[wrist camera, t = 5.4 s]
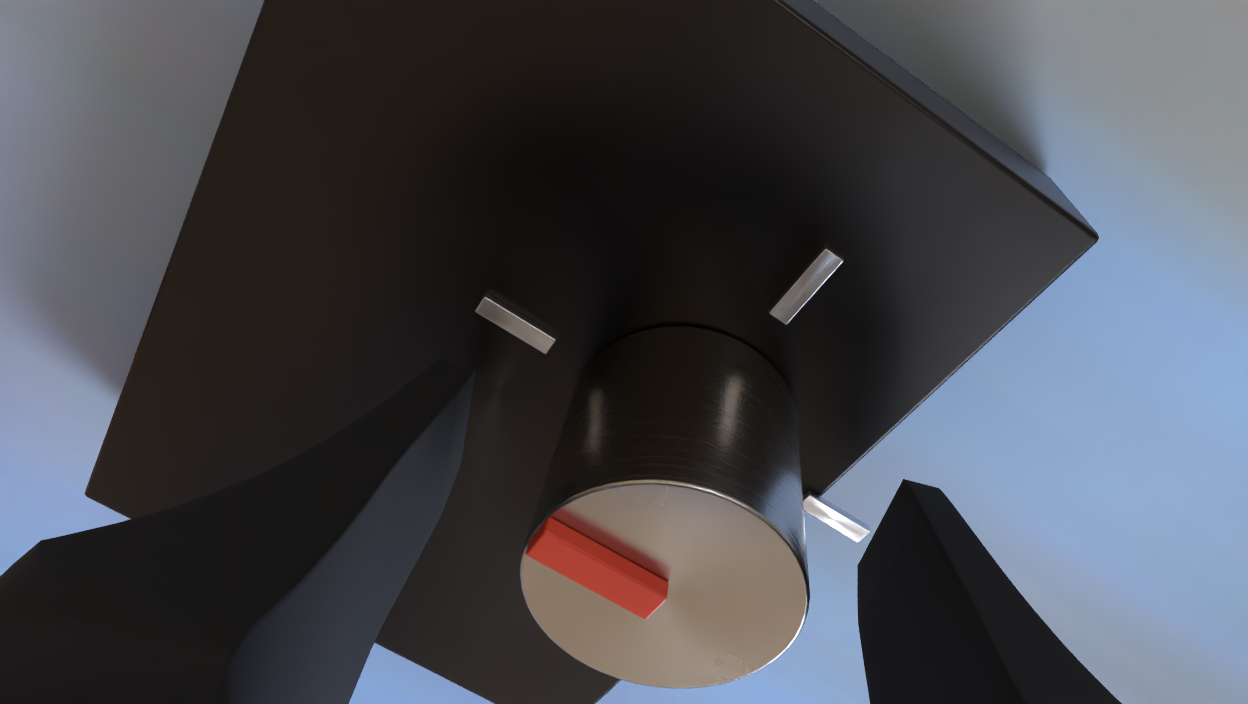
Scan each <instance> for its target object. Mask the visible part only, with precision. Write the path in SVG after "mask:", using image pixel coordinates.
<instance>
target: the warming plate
mask: <svg viewBox="0 0 1248 704" xmlns="http://www.w3.org/2000/svg"><path fill="white" fill-rule="evenodd" d="M1098 239H1099V236H1098V234H1097V232H1096V231H1095V230H1094V229H1093V228H1092V227H1091V225H1090V224H1089V223H1088V222H1087V221H1086V220H1085V218H1084V217H1083V216H1082V215H1081V214H1080V212H1079V211H1078V210H1077V209H1076V208H1075V207H1074V205H1073V204H1072V203H1071V202H1070V201H1069V200H1068V198H1067V197H1066V196H1065V195H1064V194H1063V192H1062V191H1061V190H1060V189H1059V188H1058V187H1057V185H1056V184H1055V183H1054V182H1053V181H1052V180H1051V178H1049V177H1048V176H1047V175H1045V174H1044V173H1043V172H1041V171H1040V170H1039V169H1037V168H1036V167H1035V166H1033V165H1032V164H1031V163H1029V162H1028V161H1027V160H1025V159H1024V158H1023V157H1021V156H1020V155H1019V154H1017V153H1016V152H1015V151H1013V150H1012V149H1011V148H1009V147H1008V146H1007V145H1005V144H1004V143H1002V142H1001V141H1000V140H998V139H997V138H996V137H994V136H993V135H992V134H990V133H989V132H988V131H986V130H985V129H984V128H982V127H981V126H980V125H978V124H977V123H976V122H974V121H973V120H972V119H970V118H969V117H968V116H966V115H965V114H964V113H962V112H961V111H960V110H958V109H957V108H956V107H954V106H953V105H952V104H950V103H949V102H948V101H946V100H945V99H944V98H942V97H941V96H940V95H938V94H937V93H936V92H934V91H933V90H932V89H930V88H929V87H928V86H926V85H925V84H924V83H922V82H921V81H920V80H918V79H917V78H916V77H914V76H913V75H912V74H910V73H909V72H908V71H906V70H905V69H904V68H902V67H901V66H900V65H898V64H897V63H896V62H894V61H893V60H892V59H890V58H889V57H888V56H886V55H885V54H884V53H882V52H881V51H879V50H878V49H877V48H875V47H874V46H873V45H871V44H870V43H869V42H867V41H866V40H865V39H863V38H862V37H861V36H859V35H858V34H857V33H855V32H854V31H853V30H851V29H850V28H849V27H847V26H846V25H845V24H843V23H842V22H841V21H839V20H838V19H837V18H835V17H834V16H833V15H831V14H830V13H829V12H827V11H826V10H825V9H823V8H822V7H821V6H819V5H818V4H817V3H815V2H814V1H813V0H264V3H263V6H262V8H261V11H260V14H259V17H258V19H257V22H256V25H255V28H254V30H253V33H252V36H251V39H250V41H249V44H248V47H247V50H246V52H245V55H244V58H243V61H242V63H241V66H240V69H239V71H238V74H237V77H236V80H235V82H234V85H233V88H232V91H231V93H230V96H229V99H228V102H227V104H226V107H225V110H224V113H223V115H222V118H221V121H220V124H219V126H218V129H217V132H216V135H215V137H214V140H213V143H212V145H211V148H210V151H209V154H208V156H207V159H206V162H205V165H204V167H203V170H202V173H201V176H200V178H199V181H198V184H197V187H196V189H195V192H194V195H193V198H192V200H191V203H190V206H189V209H188V211H187V214H186V217H185V219H184V222H183V225H182V228H181V230H180V233H179V236H178V239H177V241H176V244H175V247H174V250H173V252H172V255H171V258H170V261H169V263H168V266H167V269H166V272H165V274H164V277H163V280H162V283H161V285H160V288H159V291H158V293H157V296H156V299H155V302H154V304H153V307H152V310H151V313H150V315H149V318H148V321H147V324H146V326H145V329H144V332H143V335H142V337H141V340H140V343H139V346H138V348H137V351H136V354H135V357H134V359H133V362H132V365H131V367H130V370H129V373H128V376H127V378H126V381H125V384H124V387H123V389H122V392H121V395H120V398H119V400H118V403H117V406H116V409H115V411H114V414H113V417H112V420H111V422H110V425H109V428H108V431H107V433H106V436H105V439H104V441H103V444H102V447H101V450H100V452H99V455H98V458H97V461H96V463H95V466H94V469H93V472H92V474H91V477H90V480H89V483H88V485H87V488H86V491H85V495H86V496H87V497H88V498H90V499H92V500H94V501H96V502H98V503H100V504H102V505H104V506H106V507H108V508H110V509H112V510H114V511H116V512H118V513H120V514H122V515H124V516H126V517H128V518H130V519H134V518H138V517H141V516H145V515H148V514H151V513H155V512H158V511H161V510H165V509H168V508H171V507H174V506H177V505H180V504H183V503H186V502H189V501H192V500H195V499H197V498H200V497H203V496H205V495H208V494H210V493H213V492H215V491H218V490H221V489H223V488H226V487H228V486H231V485H233V484H236V483H238V482H241V481H243V480H246V479H248V478H251V477H253V476H255V475H257V474H260V473H262V472H264V471H266V470H268V469H270V468H272V467H274V466H276V465H278V464H280V463H282V462H284V461H286V460H288V459H290V458H292V457H294V456H296V455H297V454H299V453H301V452H303V451H305V450H306V449H308V448H310V447H312V446H314V445H315V444H317V443H319V442H320V441H322V440H323V439H325V438H327V437H328V436H330V435H332V434H333V433H335V432H337V431H338V430H340V429H342V428H343V427H345V426H346V425H348V424H350V423H351V422H353V421H354V420H356V419H357V418H359V417H360V416H362V415H363V414H364V413H366V412H367V411H369V410H370V409H372V408H373V407H375V406H376V405H377V404H379V403H380V402H382V401H383V400H385V399H386V398H387V397H389V396H390V395H392V394H393V393H394V392H396V391H397V390H398V389H400V388H401V387H402V386H404V385H405V384H406V383H408V382H409V381H410V380H411V379H413V378H414V377H415V376H417V375H418V374H419V373H420V372H422V371H423V370H424V369H426V368H427V367H428V366H429V365H431V364H432V363H434V362H436V361H437V360H439V359H440V360H444V361H448V362H452V363H455V364H459V365H463V366H467V367H471V368H475V376H474V382H473V389H472V396H471V402H470V409H469V415H468V422H467V428H466V435H465V441H464V448H463V454H462V461H461V465H460V468H459V470H458V473H457V476H456V478H455V481H454V484H453V486H452V489H451V492H450V494H449V497H448V499H447V502H446V504H445V507H444V509H443V512H442V514H441V516H440V518H439V520H438V522H437V524H436V526H435V528H434V530H433V532H432V534H431V535H430V537H429V539H428V541H427V543H426V545H425V547H424V549H423V551H422V552H421V554H420V556H419V558H418V560H417V562H416V564H415V565H414V567H413V569H412V571H411V573H410V575H409V577H408V578H407V580H406V582H405V584H404V586H403V588H402V590H401V591H400V593H399V595H398V597H397V599H396V601H395V603H394V604H393V606H392V608H391V610H390V612H389V614H388V616H387V617H386V619H385V621H384V623H383V625H382V627H381V629H380V631H379V633H378V635H377V638H376V640H375V642H374V643H376V644H378V645H380V646H382V647H384V648H386V649H388V650H390V651H392V652H394V653H396V654H398V655H400V656H402V657H404V658H406V659H408V660H410V661H412V662H414V663H416V664H418V665H420V666H422V667H424V668H426V669H428V670H430V671H432V672H434V673H436V674H438V675H440V676H442V677H444V678H445V679H447V680H449V681H451V682H453V683H455V684H457V685H459V686H461V687H463V688H465V689H467V690H469V691H471V692H473V693H475V694H477V695H479V696H481V697H483V698H485V699H487V700H489V701H491V702H493V703H495V704H596V703H597V702H598V701H599V700H600V699H601V698H602V697H603V696H604V695H605V694H606V693H608V692H609V691H610V690H611V689H612V688H613V687H614V686H615V685H616V684H617V683H618V682H620V681H621V679H618V678H615V677H612V676H610V675H607V674H604V673H602V672H600V671H598V670H595V669H593V668H591V667H589V666H587V665H585V664H584V663H582V662H580V661H579V660H577V659H575V658H574V657H572V656H571V655H569V654H568V653H567V652H565V651H564V650H563V649H561V648H560V647H559V646H558V645H557V644H556V643H555V642H553V641H552V640H551V639H550V638H549V637H548V636H547V634H546V633H545V632H544V631H543V630H542V629H541V628H540V626H539V625H538V623H537V622H536V620H535V619H534V617H533V616H532V614H531V612H530V610H529V608H528V606H527V604H526V601H525V598H524V595H523V592H522V588H521V581H520V560H521V556H522V552H523V548H524V545H525V542H526V538H527V535H528V532H529V529H530V526H531V523H532V520H533V517H534V513H535V510H536V507H537V504H538V501H539V498H540V495H541V492H542V488H543V485H544V482H545V479H546V476H547V473H548V470H549V467H550V463H551V460H552V457H553V454H554V451H555V448H556V445H557V442H558V439H559V435H560V432H561V429H562V426H563V423H564V420H565V417H566V414H567V410H568V407H569V404H570V401H571V398H572V395H573V392H574V389H575V386H576V384H577V382H578V380H579V378H580V376H581V374H582V373H583V371H584V370H585V368H586V367H587V366H588V365H589V363H590V362H591V361H592V360H593V359H594V358H595V357H596V356H597V355H598V354H599V353H601V352H602V351H603V350H604V349H605V348H607V347H608V346H610V345H612V344H613V343H615V342H616V341H618V340H620V339H622V338H625V337H627V336H629V335H631V334H634V333H637V332H641V331H644V330H648V329H653V328H658V327H670V326H684V327H696V328H702V329H708V330H711V331H715V332H719V333H722V334H725V335H727V336H730V337H732V338H735V339H737V340H739V341H740V342H742V343H744V344H746V345H748V346H750V347H751V348H752V349H754V350H755V351H756V352H758V353H759V354H761V355H762V356H763V357H764V358H765V359H766V360H767V361H768V362H769V363H770V364H772V365H773V367H774V368H775V369H776V370H777V371H778V373H779V374H780V375H781V376H782V378H783V380H784V381H785V383H786V385H787V386H788V388H789V390H790V393H791V395H792V398H793V400H794V404H795V408H796V413H797V426H798V440H799V453H800V467H801V481H802V494H803V508H804V511H806V512H808V513H809V514H811V515H812V516H814V517H816V518H817V519H819V520H821V521H822V522H824V523H826V524H827V525H829V526H831V527H832V528H834V529H836V530H837V531H839V532H841V533H842V534H844V535H846V536H847V537H849V538H851V539H852V540H854V541H856V542H859V541H860V540H861V539H862V538H863V537H865V536H866V535H867V534H868V533H869V532H870V528H869V526H868V525H866V524H865V523H863V522H861V521H860V520H858V519H856V518H855V517H853V516H852V515H850V514H848V513H847V512H845V511H843V510H842V509H840V508H838V507H837V506H835V505H834V504H832V503H830V502H829V501H827V500H825V499H824V498H822V497H820V496H821V495H823V494H824V493H825V492H826V491H827V490H828V489H829V488H830V487H831V486H832V485H833V484H834V483H836V482H837V481H838V480H839V479H840V478H841V477H842V476H843V475H844V474H845V473H846V472H848V471H849V470H850V469H851V468H852V467H853V466H854V465H855V464H856V463H857V462H858V461H859V460H861V459H862V458H863V457H864V456H865V455H866V454H867V453H868V452H869V451H870V450H871V449H872V448H874V447H875V446H876V445H877V444H878V443H879V442H880V441H881V440H882V439H883V438H884V437H886V436H887V435H888V434H889V433H890V432H891V431H892V430H893V429H894V428H895V427H896V426H897V425H899V424H900V423H901V422H902V421H903V420H904V419H905V418H906V417H907V416H908V415H909V414H910V413H912V412H913V411H914V410H915V409H916V408H917V407H918V406H919V405H920V404H921V403H922V402H924V401H925V400H926V399H927V398H928V397H929V396H930V395H931V394H932V393H933V392H934V391H935V390H937V389H938V388H939V387H940V386H941V385H942V384H943V383H944V382H945V381H946V380H947V379H948V378H950V377H951V376H952V375H953V374H954V373H955V372H956V371H957V370H958V369H959V368H960V367H962V366H963V365H964V364H965V363H966V362H967V361H968V360H969V359H970V358H971V357H972V356H973V355H975V354H976V353H977V352H978V351H979V350H980V349H981V348H982V347H983V346H984V345H985V344H986V343H988V342H989V341H990V340H991V339H992V338H993V337H994V336H995V335H996V334H997V333H998V332H1000V331H1001V330H1002V329H1003V328H1004V327H1005V326H1006V325H1007V324H1008V323H1009V322H1010V321H1011V320H1013V319H1014V318H1015V317H1016V316H1017V315H1018V314H1019V313H1020V312H1021V311H1022V310H1023V309H1024V308H1026V307H1027V306H1028V305H1029V304H1030V303H1031V302H1032V301H1033V300H1034V299H1035V298H1036V297H1038V296H1039V295H1040V294H1041V293H1042V292H1043V291H1044V290H1045V289H1046V288H1047V287H1048V286H1049V285H1051V284H1052V283H1053V282H1054V281H1055V280H1056V279H1057V278H1058V277H1059V276H1060V275H1061V274H1062V273H1064V272H1065V271H1066V270H1067V269H1068V268H1069V267H1070V266H1071V265H1072V264H1073V263H1074V262H1076V261H1077V260H1078V259H1079V258H1080V257H1081V256H1082V255H1083V254H1084V253H1085V252H1086V251H1087V250H1089V249H1090V248H1091V247H1092V246H1093V245H1094V244H1095V243H1096V242H1097V241H1098Z"/></svg>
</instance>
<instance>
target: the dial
mask: <svg viewBox="0 0 1248 704" xmlns="http://www.w3.org/2000/svg"><path fill="white" fill-rule="evenodd" d="M520 581H521V588H522V592H523V595H524V598H525V601H526V604H527V606H528V608H529V610H530V612H531V614H532V616H533V617H534V619H535V620H536V622H537V623H538V625H539V626H540V628H541V629H542V630H543V631H544V632H545V633H546V634H547V636H548V637H549V638H550V639H551V640H552V641H553V642H555V643H556V644H557V645H558V646H559V647H560V648H561V649H563V650H564V651H565V652H567V653H568V654H569V655H571V656H572V657H574V658H575V659H577V660H579V661H580V662H582V663H584V664H585V665H587V666H589V667H591V668H593V669H595V670H598V671H600V672H602V673H604V674H607V675H610V676H612V677H615V678H618V679H621V680H625V681H629V682H632V683H636V684H641V685H647V686H653V687H663V688H699V687H708V686H714V685H719V684H724V683H727V682H731V681H734V680H738V679H740V678H743V677H745V676H748V675H750V674H753V673H755V672H757V671H758V670H760V669H762V668H764V667H766V666H767V665H769V664H770V663H771V662H773V661H774V660H776V659H777V658H778V657H779V656H780V655H781V654H783V653H784V652H785V651H786V650H787V649H788V648H789V646H790V645H791V644H792V643H793V641H794V640H795V639H796V637H797V636H798V634H799V632H800V630H801V628H802V626H803V624H804V622H805V619H806V616H807V613H808V609H809V600H810V590H809V576H808V562H807V549H806V535H805V522H804V508H803V494H802V481H801V467H800V453H799V440H798V426H797V413H796V408H795V404H794V400H793V398H792V395H791V393H790V390H789V388H788V386H787V385H786V383H785V381H784V380H783V378H782V376H781V375H780V374H779V373H778V371H777V370H776V369H775V368H774V367H773V365H772V364H770V363H769V362H768V361H767V360H766V359H765V358H764V357H763V356H762V355H761V354H759V353H758V352H756V351H755V350H754V349H752V348H751V347H750V346H748V345H746V344H744V343H742V342H740V341H739V340H737V339H735V338H732V337H730V336H727V335H725V334H722V333H719V332H715V331H711V330H708V329H702V328H696V327H684V326H670V327H658V328H653V329H648V330H644V331H641V332H637V333H634V334H631V335H629V336H627V337H625V338H622V339H620V340H618V341H616V342H615V343H613V344H612V345H610V346H608V347H607V348H605V349H604V350H603V351H602V352H601V353H599V354H598V355H597V356H596V357H595V358H594V359H593V360H592V361H591V362H590V363H589V365H588V366H587V367H586V368H585V370H584V371H583V373H582V374H581V376H580V378H579V380H578V382H577V384H576V386H575V389H574V392H573V395H572V398H571V401H570V404H569V407H568V410H567V414H566V417H565V420H564V423H563V426H562V429H561V432H560V435H559V439H558V442H557V445H556V448H555V451H554V454H553V457H552V460H551V463H550V467H549V470H548V473H547V476H546V479H545V482H544V485H543V488H542V492H541V495H540V498H539V501H538V504H537V507H536V510H535V513H534V517H533V520H532V523H531V526H530V529H529V532H528V535H527V538H526V542H525V545H524V548H523V552H522V556H521V560H520Z"/></svg>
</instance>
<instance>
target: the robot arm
mask: <svg viewBox="0 0 1248 704" xmlns="http://www.w3.org/2000/svg"><path fill="white" fill-rule="evenodd" d="M474 376H475V368H471V367H467V366H463V365H459V364H455V363H452V362H448V361H444V360H440V359H439V360H437V361H436V362H434V363H432V364H431V365H429V366H428V367H427V368H426V369H424V370H423V371H422V372H420V373H419V374H418V375H417V376H415V377H414V378H413V379H411V380H410V381H409V382H408V383H406V384H405V385H404V386H402V387H401V388H400V389H398V390H397V391H396V392H394V393H393V394H392V395H390V396H389V397H387V398H386V399H385V400H383V401H382V402H380V403H379V404H377V405H376V406H375V407H373V408H372V409H370V410H369V411H367V412H366V413H364V414H363V415H362V416H360V417H359V418H357V419H356V420H354V421H353V422H351V423H350V424H348V425H346V426H345V427H343V428H342V429H340V430H338V431H337V432H335V433H333V434H332V435H330V436H328V437H327V438H325V439H323V440H322V441H320V442H319V443H317V444H315V445H314V446H312V447H310V448H308V449H306V450H305V451H303V452H301V453H299V454H297V455H296V456H294V457H292V458H290V459H288V460H286V461H284V462H282V463H280V464H278V465H276V466H274V467H272V468H270V469H268V470H266V471H264V472H262V473H260V474H257V475H255V476H253V477H251V478H248V479H246V480H243V481H241V482H238V483H236V484H233V485H231V486H228V487H226V488H223V489H221V490H218V491H215V492H213V493H210V494H208V495H205V496H203V497H200V498H197V499H195V500H192V501H189V502H186V503H183V504H180V505H177V506H174V507H171V508H168V509H165V510H161V511H158V512H155V513H151V514H148V515H145V516H141V517H138V518H134V519H131V520H127V521H123V522H120V523H116V524H112V525H108V526H103V527H99V528H95V529H90V530H86V531H82V532H78V533H73V534H69V535H65V536H61V537H56V538H51V539H46V540H41V541H40V542H39V543H38V544H36V545H35V546H34V547H33V548H32V549H31V550H29V551H28V552H27V553H26V554H25V555H23V556H22V557H21V558H20V559H19V560H18V561H16V562H15V563H14V564H13V565H12V566H11V567H10V568H9V569H8V570H7V571H6V572H5V573H3V574H2V575H1V576H0V704H349V701H350V699H351V696H352V694H353V692H354V689H355V687H356V684H357V682H358V679H359V677H360V675H361V672H362V670H363V667H364V665H365V663H366V660H367V658H368V655H369V653H370V650H371V648H372V646H373V644H374V642H375V640H376V638H377V635H378V633H379V631H380V629H381V627H382V625H383V623H384V621H385V619H386V617H387V616H388V614H389V612H390V610H391V608H392V606H393V604H394V603H395V601H396V599H397V597H398V595H399V593H400V591H401V590H402V588H403V586H404V584H405V582H406V580H407V578H408V577H409V575H410V573H411V571H412V569H413V567H414V565H415V564H416V562H417V560H418V558H419V556H420V554H421V552H422V551H423V549H424V547H425V545H426V543H427V541H428V539H429V537H430V535H431V534H432V532H433V530H434V528H435V526H436V524H437V522H438V520H439V518H440V516H441V514H442V512H443V509H444V507H445V504H446V502H447V499H448V497H449V494H450V492H451V489H452V486H453V484H454V481H455V478H456V476H457V473H458V470H459V468H460V465H461V461H462V454H463V448H464V441H465V435H466V428H467V422H468V415H469V409H470V402H471V396H472V389H473V382H474ZM858 624H859V632H860V639H861V646H862V653H863V659H864V666H865V673H866V679H867V686H868V692H869V698H870V704H1121V703H1120V702H1119V701H1118V700H1117V699H1116V698H1115V697H1114V696H1113V695H1112V694H1111V693H1110V692H1109V691H1108V690H1107V689H1106V688H1105V687H1104V686H1103V685H1102V684H1101V683H1100V682H1099V681H1098V680H1097V679H1096V678H1095V677H1094V676H1093V675H1092V674H1091V673H1090V672H1089V671H1088V670H1087V669H1086V668H1085V667H1084V666H1083V665H1082V664H1081V663H1080V662H1079V661H1078V660H1077V658H1076V657H1075V656H1074V655H1073V654H1072V653H1071V652H1070V651H1069V650H1068V649H1067V648H1066V647H1065V645H1064V644H1063V643H1062V642H1061V641H1060V640H1059V639H1058V638H1057V636H1056V635H1055V634H1054V633H1053V632H1052V631H1051V629H1050V628H1049V627H1048V626H1047V625H1046V624H1045V622H1044V621H1043V620H1042V619H1041V618H1040V617H1039V615H1038V614H1037V613H1036V612H1035V611H1034V610H1033V608H1032V607H1031V606H1030V605H1029V603H1028V602H1027V601H1026V600H1025V599H1024V597H1023V596H1022V595H1021V594H1020V592H1019V591H1018V590H1017V589H1016V587H1015V586H1014V585H1013V584H1012V582H1011V581H1010V580H1009V578H1008V577H1007V576H1006V575H1005V573H1004V572H1003V571H1002V569H1001V568H1000V567H999V566H998V564H997V563H996V562H995V560H994V559H993V558H992V556H991V555H990V554H989V552H988V551H987V550H986V548H985V547H984V546H983V544H982V543H981V542H980V540H979V539H978V538H977V536H976V535H975V534H974V532H973V531H972V530H971V528H970V527H969V526H968V524H967V523H966V522H965V520H964V519H963V518H962V516H961V515H960V514H959V512H958V511H957V510H956V508H955V507H954V506H953V504H952V503H951V502H950V501H949V499H948V498H947V497H946V496H945V494H944V493H943V492H942V491H941V490H940V489H939V488H936V487H932V486H928V485H924V484H920V483H916V482H912V481H908V480H905V479H903V481H902V483H901V485H900V487H899V488H898V490H897V492H896V494H895V496H894V498H893V500H892V502H891V504H890V506H889V507H888V509H887V511H886V513H885V515H884V517H883V519H882V521H881V523H880V524H879V526H878V528H877V530H876V532H875V534H874V536H873V538H872V540H871V542H870V543H869V545H868V547H867V549H866V551H865V553H864V555H863V557H862V559H861V560H860V562H859V564H858Z"/></svg>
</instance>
